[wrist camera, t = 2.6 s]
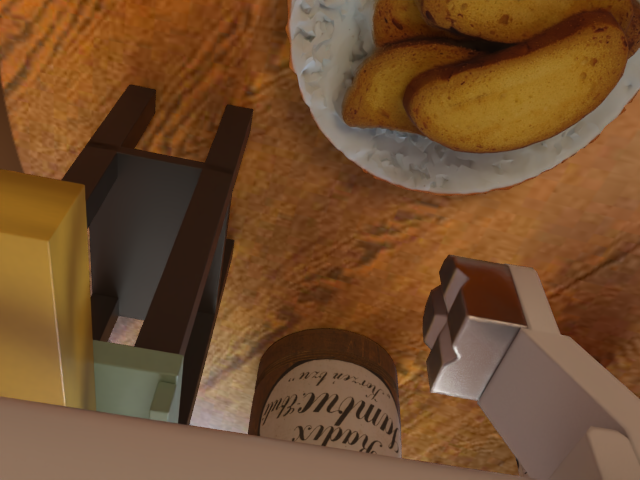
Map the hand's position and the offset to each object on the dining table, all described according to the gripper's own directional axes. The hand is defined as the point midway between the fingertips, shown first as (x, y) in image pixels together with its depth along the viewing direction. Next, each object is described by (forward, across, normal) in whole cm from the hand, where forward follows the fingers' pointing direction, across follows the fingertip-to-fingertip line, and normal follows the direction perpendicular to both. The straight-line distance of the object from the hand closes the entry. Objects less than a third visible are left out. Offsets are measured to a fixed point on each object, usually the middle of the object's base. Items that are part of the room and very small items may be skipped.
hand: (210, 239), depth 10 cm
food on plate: (+34, -12, +5) cm, 37 cm away
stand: (+34, +6, +22) cm, 41 cm away
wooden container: (+35, -10, +44) cm, 57 cm away
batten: (+8, +7, +16) cm, 20 cm away
